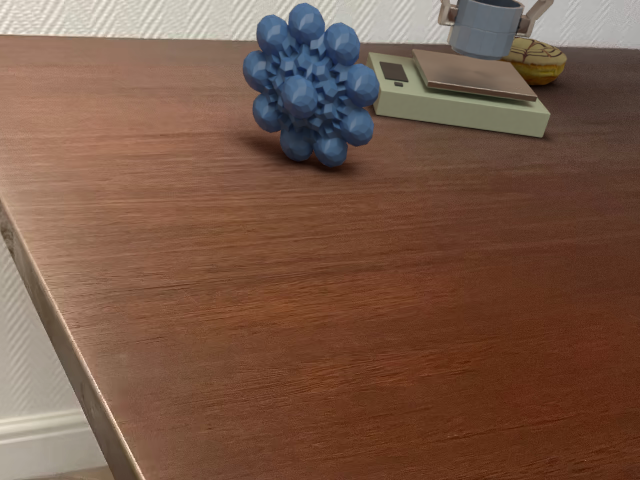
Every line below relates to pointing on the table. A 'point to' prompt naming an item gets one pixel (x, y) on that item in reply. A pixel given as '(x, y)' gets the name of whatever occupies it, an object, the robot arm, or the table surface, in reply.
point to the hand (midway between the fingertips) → (482, 30)
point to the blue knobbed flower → (311, 85)
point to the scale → (449, 101)
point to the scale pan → (472, 75)
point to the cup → (485, 28)
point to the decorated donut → (535, 60)
